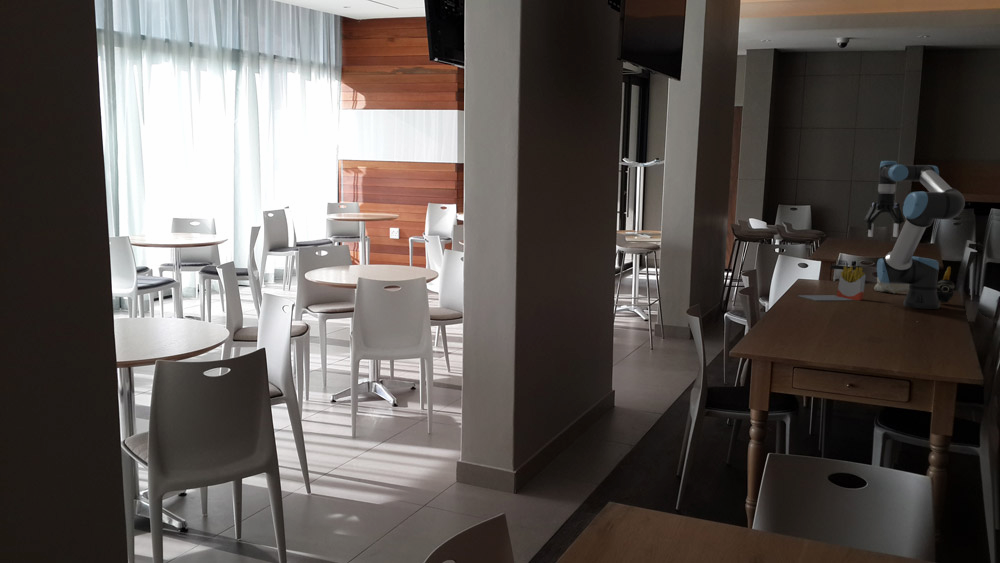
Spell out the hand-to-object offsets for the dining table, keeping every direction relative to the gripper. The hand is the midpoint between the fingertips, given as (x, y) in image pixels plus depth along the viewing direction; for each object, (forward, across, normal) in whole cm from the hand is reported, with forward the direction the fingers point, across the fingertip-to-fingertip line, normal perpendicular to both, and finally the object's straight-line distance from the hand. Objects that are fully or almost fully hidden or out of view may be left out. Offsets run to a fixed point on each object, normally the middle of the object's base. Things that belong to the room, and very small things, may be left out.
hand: (882, 236), depth 407 cm
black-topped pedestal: (+31, -18, -56) cm, 66 cm away
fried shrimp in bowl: (+30, -23, +17) cm, 42 cm away
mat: (+30, +29, +1) cm, 42 cm away
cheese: (+31, -12, -19) cm, 39 cm away
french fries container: (+33, +17, +2) cm, 37 cm away
